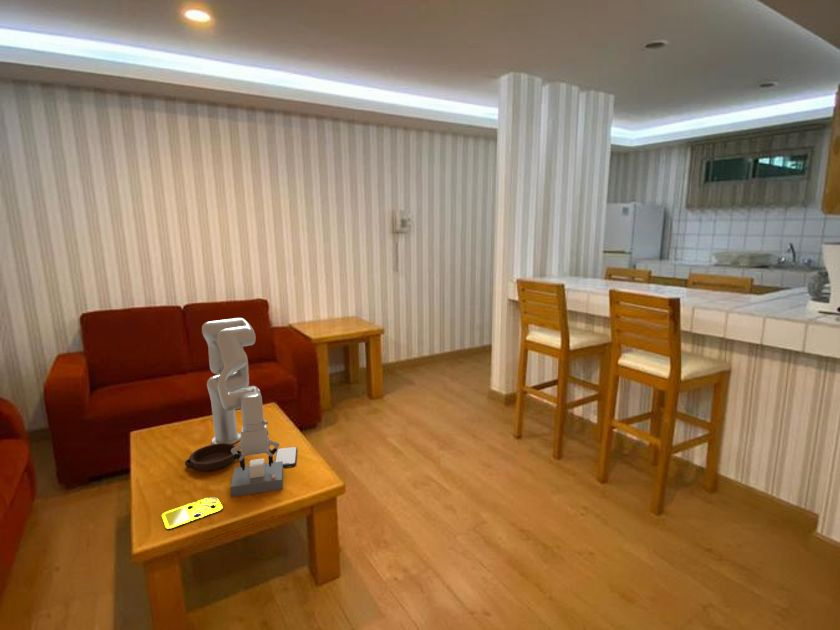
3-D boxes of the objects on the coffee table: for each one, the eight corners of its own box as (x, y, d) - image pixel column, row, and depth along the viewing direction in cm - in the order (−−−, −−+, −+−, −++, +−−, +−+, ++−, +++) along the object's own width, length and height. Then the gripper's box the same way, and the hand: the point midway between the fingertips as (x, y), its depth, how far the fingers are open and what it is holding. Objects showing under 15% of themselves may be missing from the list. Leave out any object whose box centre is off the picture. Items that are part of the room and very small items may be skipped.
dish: (243, 468, 188) (242, 456, 187) (183, 479, 180) (182, 468, 179) (242, 449, 204) (241, 438, 203) (187, 459, 196) (185, 448, 195)
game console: (167, 533, 150) (166, 529, 149) (160, 516, 158) (160, 513, 158) (224, 511, 161) (224, 507, 160) (215, 497, 169) (215, 493, 169)
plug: (252, 477, 179) (250, 460, 177) (265, 475, 180) (264, 458, 179) (250, 485, 174) (249, 467, 172) (264, 483, 175) (263, 465, 173)
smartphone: (277, 451, 203) (273, 469, 187) (276, 448, 202) (273, 466, 187) (297, 449, 204) (296, 467, 189) (297, 446, 204) (296, 463, 189)
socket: (235, 476, 181) (234, 466, 181) (283, 470, 186) (282, 459, 185) (231, 496, 168) (230, 485, 167) (282, 489, 173) (281, 478, 172)
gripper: (277, 418, 178) (281, 458, 181) (230, 423, 174) (234, 465, 177) (277, 426, 171) (280, 468, 174) (227, 432, 167) (231, 475, 170)
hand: (257, 466), depth 176 cm, fingers open, 9 cm apart
